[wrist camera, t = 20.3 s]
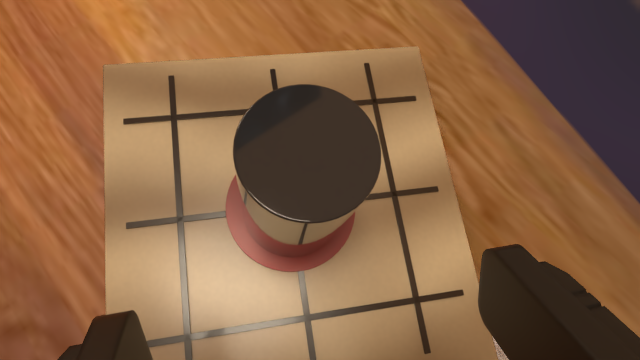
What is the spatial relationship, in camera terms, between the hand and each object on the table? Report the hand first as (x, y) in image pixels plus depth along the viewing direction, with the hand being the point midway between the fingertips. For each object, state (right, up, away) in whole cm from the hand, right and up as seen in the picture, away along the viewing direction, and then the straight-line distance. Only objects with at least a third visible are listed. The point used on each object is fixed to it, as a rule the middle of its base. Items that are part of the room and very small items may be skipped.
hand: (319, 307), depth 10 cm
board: (-2, +1, +14) cm, 14 cm away
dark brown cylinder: (-1, +2, +12) cm, 12 cm away
